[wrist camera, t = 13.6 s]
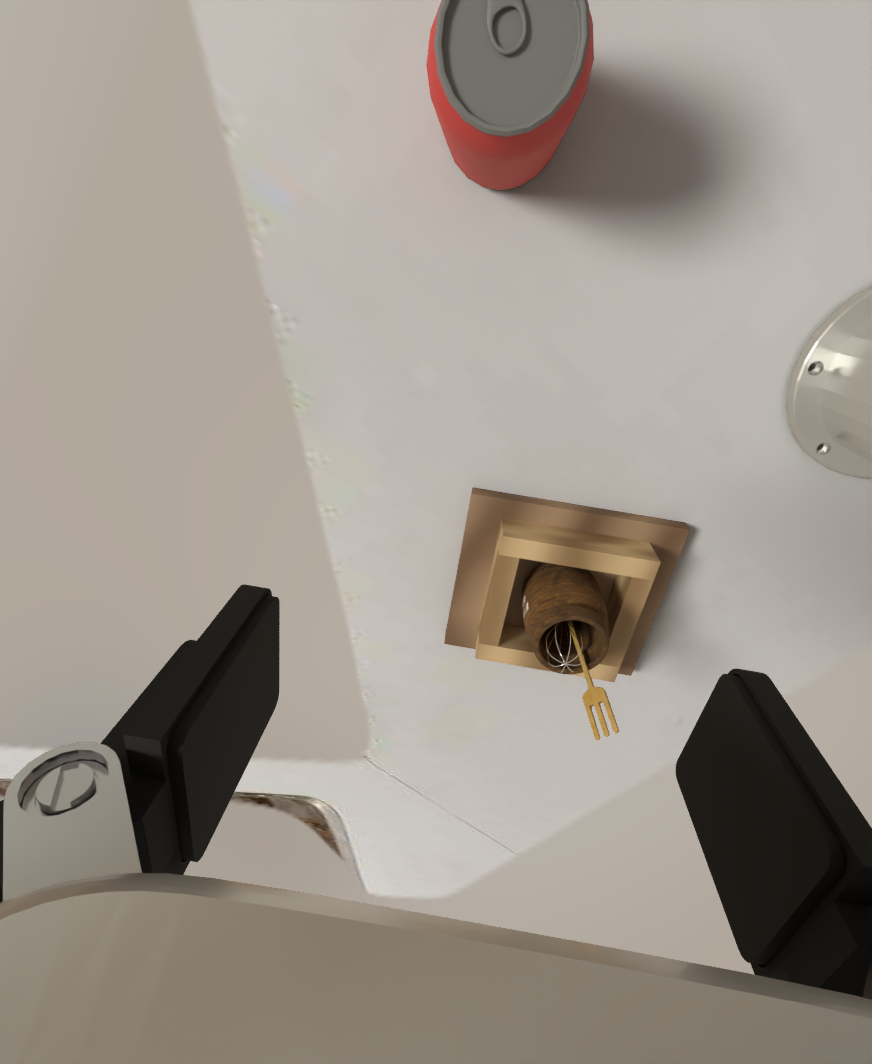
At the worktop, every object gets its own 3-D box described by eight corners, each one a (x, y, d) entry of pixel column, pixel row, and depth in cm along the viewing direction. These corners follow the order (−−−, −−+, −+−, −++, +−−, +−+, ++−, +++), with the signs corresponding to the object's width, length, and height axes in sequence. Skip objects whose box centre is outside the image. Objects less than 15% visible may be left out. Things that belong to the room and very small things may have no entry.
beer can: (548, 22, 28) (585, -133, 17) (574, 165, 30) (620, 110, 19) (430, 76, 29) (394, -35, 18) (464, 209, 32) (451, 179, 21)
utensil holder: (575, 543, 39) (606, 645, 29) (612, 603, 42) (654, 719, 31) (506, 577, 41) (511, 685, 31) (545, 633, 43) (563, 753, 33)
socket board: (684, 522, 39) (705, 549, 35) (627, 666, 46) (639, 701, 42) (472, 487, 40) (470, 510, 36) (445, 634, 46) (441, 667, 42)
